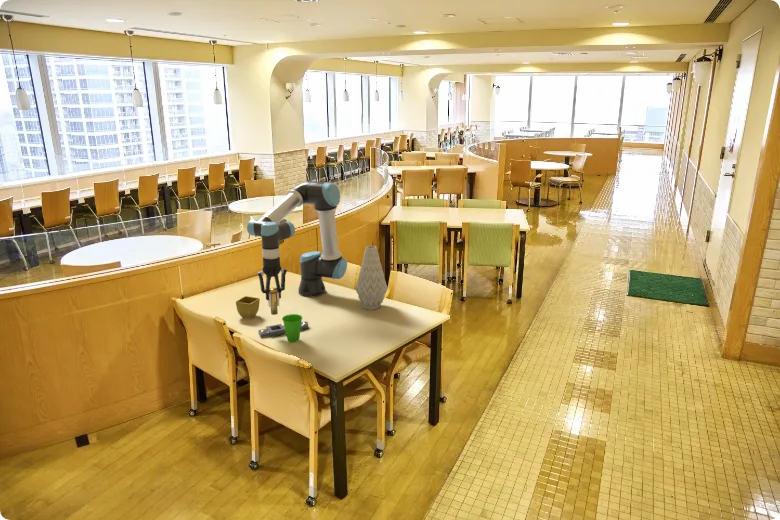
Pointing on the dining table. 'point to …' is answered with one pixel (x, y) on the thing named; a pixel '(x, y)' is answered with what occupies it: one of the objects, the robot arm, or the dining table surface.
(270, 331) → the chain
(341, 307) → the dining table surface
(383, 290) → the vase
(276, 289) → the brass pin
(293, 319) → the cup
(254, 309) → the flower pot
